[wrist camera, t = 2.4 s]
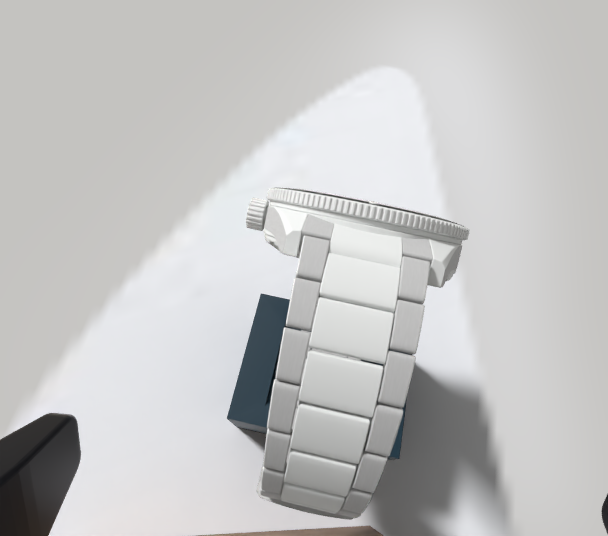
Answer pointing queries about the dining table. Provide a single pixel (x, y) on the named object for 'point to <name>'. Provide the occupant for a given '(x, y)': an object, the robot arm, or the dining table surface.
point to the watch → (337, 343)
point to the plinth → (314, 532)
